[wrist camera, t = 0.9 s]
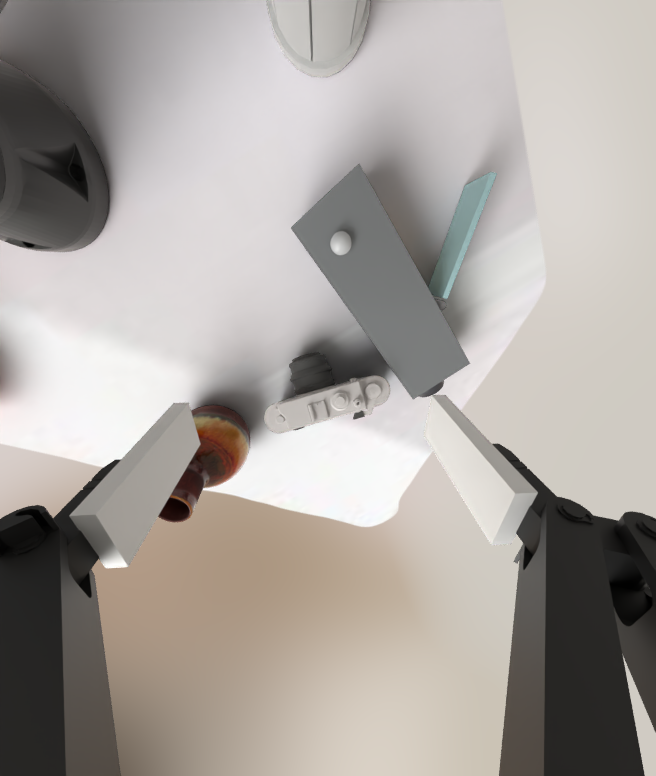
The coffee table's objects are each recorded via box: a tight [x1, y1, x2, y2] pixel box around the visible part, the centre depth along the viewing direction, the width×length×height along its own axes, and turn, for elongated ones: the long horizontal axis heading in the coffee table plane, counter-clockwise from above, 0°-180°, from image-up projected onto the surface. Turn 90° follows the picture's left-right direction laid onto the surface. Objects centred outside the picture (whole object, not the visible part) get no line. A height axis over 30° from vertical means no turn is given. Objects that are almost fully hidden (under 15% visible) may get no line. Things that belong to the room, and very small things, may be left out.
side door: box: [428, 172, 497, 310], centre depth 29 cm, size 13×1×5 cm, turn 168°
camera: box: [264, 352, 390, 433], centre depth 34 cm, size 9×16×10 cm, turn 107°
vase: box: [158, 405, 250, 522], centre depth 35 cm, size 11×11×15 cm
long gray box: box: [291, 164, 470, 399], centre depth 31 cm, size 26×8×7 cm, turn 38°
